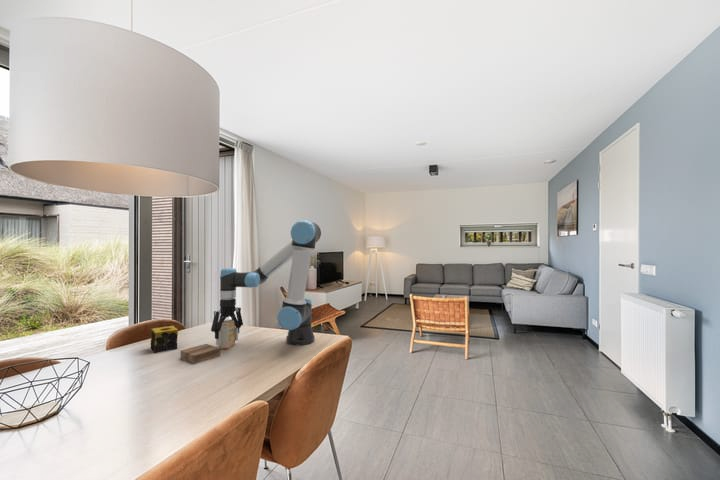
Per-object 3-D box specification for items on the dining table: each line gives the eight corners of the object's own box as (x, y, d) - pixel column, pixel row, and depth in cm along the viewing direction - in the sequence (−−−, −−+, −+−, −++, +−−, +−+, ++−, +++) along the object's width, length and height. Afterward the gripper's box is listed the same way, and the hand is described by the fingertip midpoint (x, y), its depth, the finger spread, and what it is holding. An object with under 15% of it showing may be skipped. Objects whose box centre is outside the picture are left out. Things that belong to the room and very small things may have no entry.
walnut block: (220, 357, 145) (220, 348, 145) (194, 365, 135) (194, 355, 135) (206, 352, 151) (206, 343, 152) (180, 359, 142) (180, 350, 142)
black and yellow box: (150, 348, 155) (150, 328, 156) (173, 344, 162) (173, 325, 162) (153, 353, 148) (154, 332, 148) (177, 349, 155) (178, 329, 155)
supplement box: (228, 349, 154) (228, 322, 155) (218, 349, 155) (219, 322, 155) (235, 344, 163) (235, 319, 163) (226, 344, 163) (226, 318, 163)
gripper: (242, 295, 170) (241, 336, 170) (203, 300, 152) (202, 346, 152) (250, 296, 166) (250, 338, 166) (211, 302, 148) (210, 349, 147)
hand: (227, 342), depth 159 cm, fingers closed on supplement box, 9 cm apart
